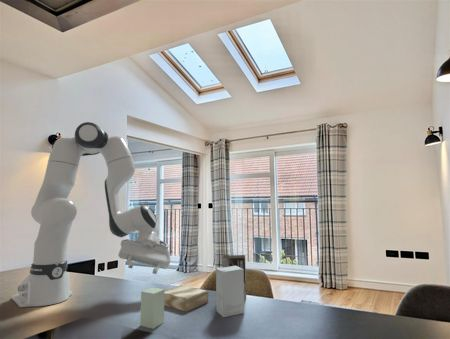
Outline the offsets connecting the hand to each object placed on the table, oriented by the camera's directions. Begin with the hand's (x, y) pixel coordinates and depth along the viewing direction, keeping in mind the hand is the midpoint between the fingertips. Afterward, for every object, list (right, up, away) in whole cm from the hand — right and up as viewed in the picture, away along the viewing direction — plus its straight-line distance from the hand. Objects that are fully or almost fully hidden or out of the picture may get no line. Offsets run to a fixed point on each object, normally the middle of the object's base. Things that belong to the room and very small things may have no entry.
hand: (142, 269), depth 111 cm
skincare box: (+33, -11, -12) cm, 37 cm away
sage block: (+9, -10, -21) cm, 25 cm away
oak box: (+16, -12, -2) cm, 20 cm away
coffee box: (+35, -12, +4) cm, 37 cm away
